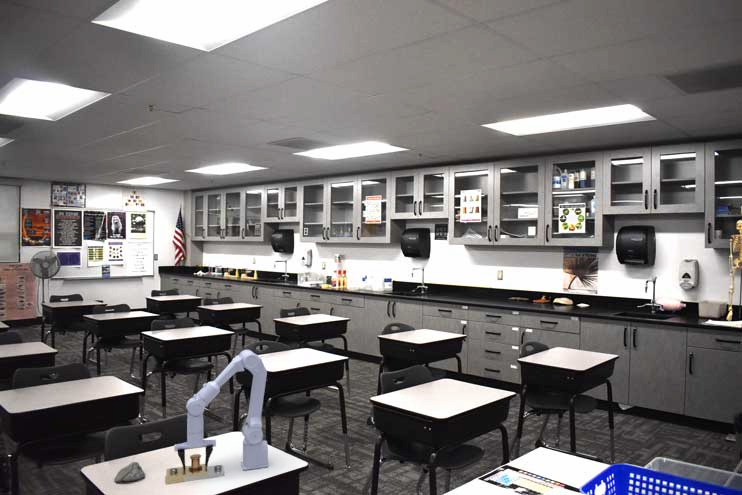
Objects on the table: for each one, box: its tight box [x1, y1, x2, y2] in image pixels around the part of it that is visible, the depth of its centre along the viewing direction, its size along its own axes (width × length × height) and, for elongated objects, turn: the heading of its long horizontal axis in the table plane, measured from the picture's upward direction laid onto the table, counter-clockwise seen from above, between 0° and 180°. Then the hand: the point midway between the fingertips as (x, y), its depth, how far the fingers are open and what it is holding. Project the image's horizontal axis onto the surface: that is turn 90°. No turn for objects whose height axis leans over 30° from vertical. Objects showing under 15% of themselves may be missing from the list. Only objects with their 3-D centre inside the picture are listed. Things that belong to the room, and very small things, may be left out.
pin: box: [189, 453, 202, 472], centre depth 196 cm, size 4×4×7 cm
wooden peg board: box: [165, 463, 225, 485], centre depth 195 cm, size 20×8×3 cm, turn 110°
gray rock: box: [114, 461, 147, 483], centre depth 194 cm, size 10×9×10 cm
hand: (195, 467), depth 195 cm, fingers open, 7 cm apart
